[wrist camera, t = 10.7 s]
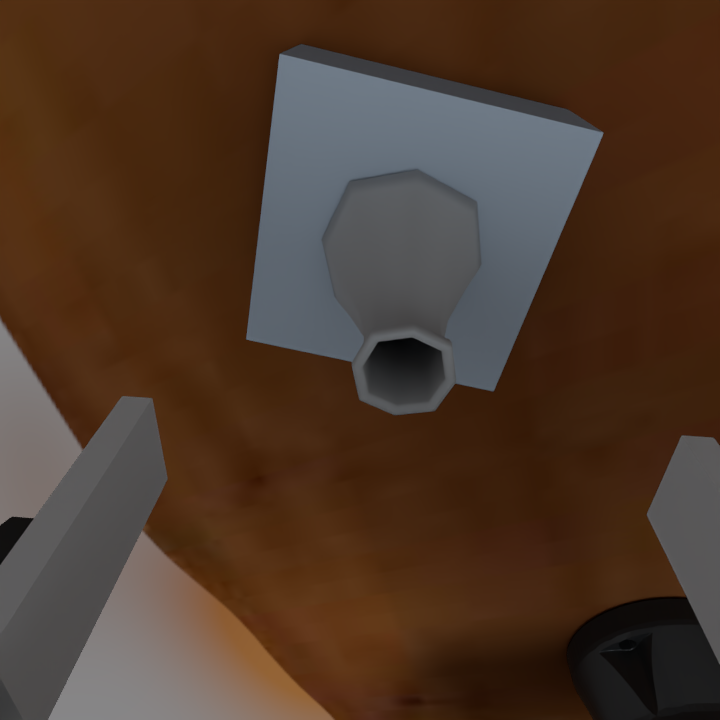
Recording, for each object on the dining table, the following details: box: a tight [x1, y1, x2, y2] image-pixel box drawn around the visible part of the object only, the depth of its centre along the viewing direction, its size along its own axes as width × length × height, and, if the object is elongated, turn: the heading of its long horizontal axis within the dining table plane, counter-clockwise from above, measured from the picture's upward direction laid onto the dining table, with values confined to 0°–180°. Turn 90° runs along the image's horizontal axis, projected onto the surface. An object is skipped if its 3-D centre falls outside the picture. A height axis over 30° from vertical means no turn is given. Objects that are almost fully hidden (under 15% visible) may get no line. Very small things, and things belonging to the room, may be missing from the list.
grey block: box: [246, 44, 603, 391], centre depth 28 cm, size 13×13×6 cm
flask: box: [322, 170, 482, 415], centre depth 21 cm, size 7×7×10 cm
